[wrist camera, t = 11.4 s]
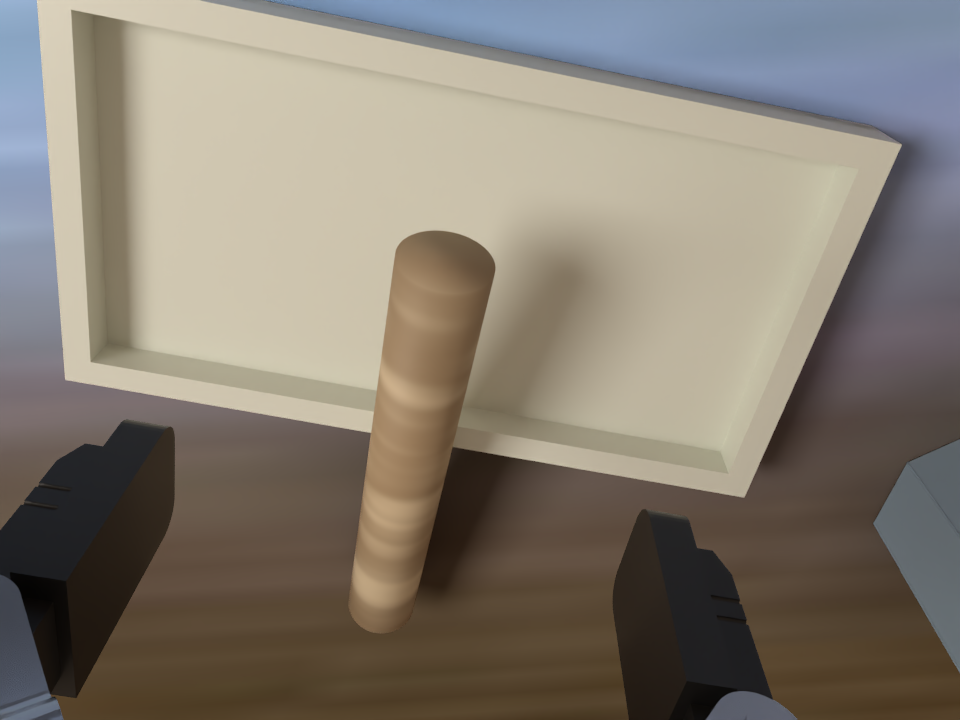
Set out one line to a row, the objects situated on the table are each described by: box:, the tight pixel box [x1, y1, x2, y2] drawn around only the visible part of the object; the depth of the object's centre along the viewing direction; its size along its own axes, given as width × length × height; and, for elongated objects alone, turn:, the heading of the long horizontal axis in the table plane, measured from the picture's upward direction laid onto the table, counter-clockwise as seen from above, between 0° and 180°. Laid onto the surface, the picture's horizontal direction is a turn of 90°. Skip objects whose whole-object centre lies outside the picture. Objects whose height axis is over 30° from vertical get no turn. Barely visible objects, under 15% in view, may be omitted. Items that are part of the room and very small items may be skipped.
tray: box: [37, 0, 902, 497], centre depth 24 cm, size 12×22×2 cm, turn 79°
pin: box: [349, 230, 496, 633], centre depth 25 cm, size 6×2×16 cm
